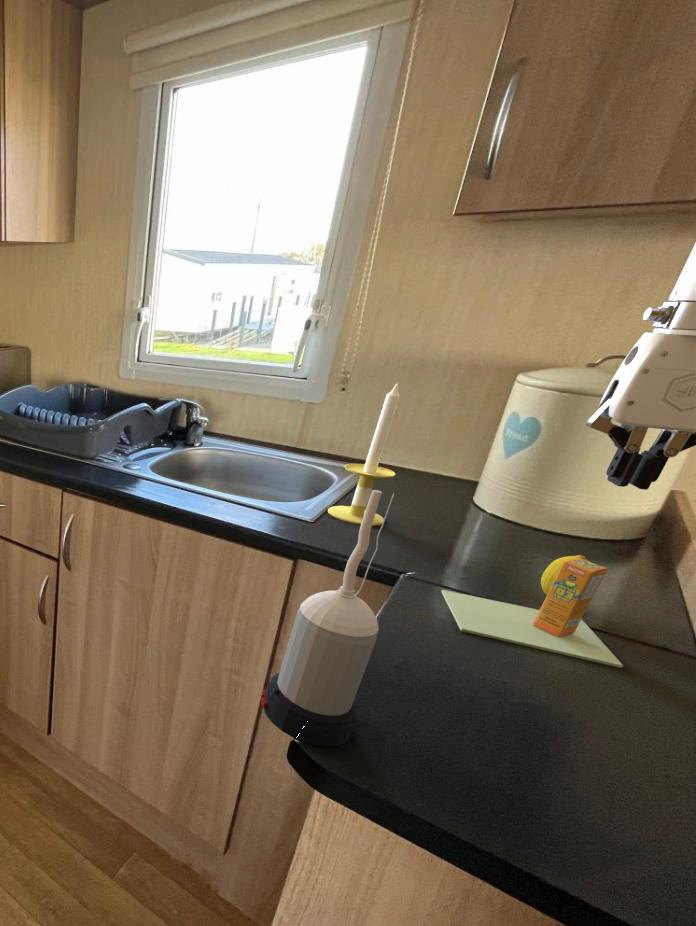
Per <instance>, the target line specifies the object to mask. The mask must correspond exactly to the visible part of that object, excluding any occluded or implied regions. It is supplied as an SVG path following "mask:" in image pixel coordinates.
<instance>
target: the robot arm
mask: <svg viewBox="0 0 696 926" xmlns="http://www.w3.org/2000/svg"><path fill="white" fill-rule="evenodd" d="M642 321H651V323H653V325H652V327H653V329H652V332H650V331H649V332H648V331H647V332H646V331H645V332H644V333H643V334H642V335H641V336H640V338H638V340H637V341H636V343H635V344H634V345H633V347H632V348H631V349H630V350H629V352H628V354H627V355H626V356H625V358H624V359H623V361H622V362H621V364H620V366H619V367H618V369H617V370H616V372H615V374H614V375H613V377H612V378H611V381H610V382H609V384H608V386H607V388H606V390H605V391H604V393H603V395H602V398H601V400H600V402H599V404H598V407H597V411H595V412H594V414H593V415H592V416H591V417H590V418H588V419H587V421H585V422H586V424H585V425H586V426H587V427H589V428H591V429H593V430H595V431H598V432H600V433H603V434H606V435H607V436H608V437H609V439H610V440H611V441H612V442H613V445H614V447H615V448H617V449H616V451H615V453H614V455H613V457H612V459H611V462H610V463H609V466H608V468H607V469H606V476H607V481H608V482H610V483H612V484H613V485H615V486H617V487H622V488H625V487H627V486H629V485H632V486H633V487H635V488H637V489H639V490H643V491H644V490H645V491H647V490H649V488H650V486H651V484H652V483H655V482H657V481H658V479H659V477H660V476H661V474H662V471H663V470H664V468H665V466H666V464H667V462H668V461H669V459H671V458H675V457H677V456H678V455H679V453H681V452H684V451H685V450H689V449H691V448H694V447H695V446H696V242H695V243H694V246H693V247H692V249H691V251H690V253H689V256H688V258H687V260H686V262H685V264H684V265H683V268H682V271H681V272H680V275H679V276H678V279H677V281H676V283H675V285H674V287H673V289H672V291H671V292H670V295H669V298H668V299H667V301H664V302H663V304H662V306H658V307H648V308H647V309H645V311H644V313H643V315H642ZM612 420H613V421H615V422H616V423H619V424H621V425H618V424H615V423H613V422H612ZM649 429H657V430H660V432H659V433H658V435H657V437H656V438H655V440H654V442H653V443H652V445H651V447H649V449H648V450H646V449H645V450H643V451H642V452H640V451H641V447H642V445H643V443H644V440H645V437H646V435H647V433H648V430H649Z"/></svg>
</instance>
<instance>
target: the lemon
mask: <svg viewBox="0 0 696 926" xmlns="http://www.w3.org/2000/svg"><path fill="white" fill-rule="evenodd" d="M576 558H581V559H583V560H585V561H588V562H591V560H589V559H586V556H585V555H581V554H577V555H567V556H563V557H559V558H557V559H555V560H553V561H552V562H551V563H550V564H549V565H548V566H547V567H546V568H545V569H544V571H543V573H542V575H541V579H540V586H541V589H542V592H543V593H544V594H545V595H546V596H547V595H548V593H549V591H550V589H551V587H552V585H553V583H554V581H555V579H556V577H557V575H558V573H559V571H560V569H561V567H562V565H563V563H564V562H565V561H568V560H572V559H576Z"/></svg>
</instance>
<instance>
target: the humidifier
mask: <svg viewBox="0 0 696 926" xmlns="http://www.w3.org/2000/svg"><path fill="white" fill-rule="evenodd" d="M382 494H383V492H382V491H381V490H377V489H371V493H370V496H369V499H368V502H367V505H366V508H365V510H366V511H365V514H364V517H363V520H362V523H361V525H360V527H359V531H358V537H357V544H356V546H355V547H354V549H353V551H352V553H351V554H350V556H349V558H348V559H347V562H346V565H345V568H344V572H343V578H342V585H341V586H339V588H338V589H336V590H325V591H320V592H317V593H313V594H311V595H310V596H308V597H307V598H306V599H305V600H303V601H302V602H301V603H300V607H299V608H298V610H297V613H296V616H295V618H294V619H295V620H294V623H293V626H292V630H291V633H290V636H289V640H288V643H287V646H286V651H285V653H284V657H283V660H282V662H281V663H282V664H281V667H280V671H279V672H277V673H275V675H273V676H272V677H271V679H270V680H269V682H268V685H267V688H266V689H265V688H263V690H262V693H261V696H260V702H261V706H262V709H263V712H264V714H265V716H266V717H267V718H268V720H269V721H270V723H272V724H273V725H274V726H275V727H276V728H277V729H278V730H280V731H281V732H283V733H285V734H286V735H288V736H290V737H291V738H293V739H295V740H298V741H300V742H303V743H306V744H309V745H313V746H317V747H322V748H323V747H325V748H326V747H338V746H340V745H343V744H345V743H346V742H347V741H348V739H349V738H350V736H351V734H352V731H353V728H354V726H355V723H356V720H357V712H358V711H357V710H358V709H357V705H356V703H355V698H356V696H357V693H358V690H359V688H360V685H361V682H362V680H363V676H364V674H365V671H366V668H367V666H368V664H369V661H370V658H371V656H372V653H373V650H374V647H375V644H376V642H377V639H378V632H379V630H380V629H379V621H378V618H377V616H376V614H375V613H374V611H373V610H372V608H371V607H370V606H369V605H368V603H366V602H365V600H363V599H361V598H360V597H358V596H357V595H358V594H359V593H360V592H361V591H362V588H363V586H364V583H365V581H366V578H367V576H368V573H369V569H370V567H371V564H372V562H373V560H374V558H375V557H376V555H377V552H378V550H379V537H380V534H381V532H382V529H383V528H384V526H385V522H386V520H387V516H388V513H389V510H390V508H391V504H392V502H393V499H394V496H395V493H394V492H393V493H392V496H391V498H390V501H389V504H388V507H387V510H386V513H385V514H384V515H385V516H384V517H383V518H384V521H383V524H381V526H380V528H379V531H378V533H377V536H376V548H375V551H374V553H373V555H372V557H371V558H370V561H369V563H368V566H367V568H366V571H365V574H364V577H363V580H362V583H361V585H360V588H359V589H358V591H357V592H356V590H355V583H356V576H357V571H358V567H359V565H360V562H361V561H362V559H363V557H364V556H365V554H366V552H367V550H368V548H369V544H370V537H371V530H372V527H373V526H372V523H373V520H374V517H375V513H376V514H377V509H378V506H379V503H380V500H381V497H382ZM307 721H308V722H307ZM303 726H305V727H304V728H303ZM302 728H303V729H302ZM299 733H300V734H299ZM298 734H299V736H298ZM297 736H298V737H297ZM296 737H297V738H296Z"/></svg>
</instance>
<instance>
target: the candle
mask: <svg viewBox="0 0 696 926" xmlns="http://www.w3.org/2000/svg"><path fill="white" fill-rule="evenodd" d="M400 398H401V394H400V392H399V381H398V380H397V381H396V383H395V384H394V386H393V387H392V389H391V391H390V392H388V393H386V396H385V398H384V403H383V406H382V409H381V412H380V415H379V418H378V422H377V425H376V428H375V431H374V434H373V438H372V441H371V443H370V447H369V450H368V453H367V457H366V460H365V463H356V462H355V463H348V464H345V465H344V468H345V470H346V471H347V472H349V473H352V474H355V475H358V476H359V480H358V482H357V486H356V488H355V492H354V495H353V498H352V501H351V505H350V506H349V505H333V506H330V507H328V508H327V513H328V514H329V515H330V516H331V517H334V518H335V519H338V520H340V521H343V522H347V523H350V524H355V525H360V526H361V523H362V520H363V517H364V514H365V511H366V508H367V505H368V501H369V498H370V495H371V493H372V490H373V486H374V483H375V479H392V478H395V477H396V475H397V474H396V472H394V471H393V470H392V469H390V468H385V467H382V466H379V464H380V461H381V458H382V455H383V451H384V448H385V445H386V442H387V439H388V435H389V433H390V429H391V426H392V423H393V420H394V417H395V414H396V410H397V408H398V405H399V402H400ZM384 518H385V517H383V516H381V515H380V514H379V513H377V512H376V513H375V517H374V520H373V523H372V527H373V526H374V527H375V526H382V524H383V521H384Z"/></svg>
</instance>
